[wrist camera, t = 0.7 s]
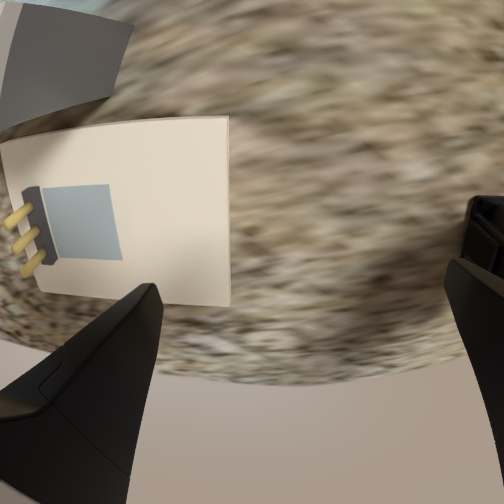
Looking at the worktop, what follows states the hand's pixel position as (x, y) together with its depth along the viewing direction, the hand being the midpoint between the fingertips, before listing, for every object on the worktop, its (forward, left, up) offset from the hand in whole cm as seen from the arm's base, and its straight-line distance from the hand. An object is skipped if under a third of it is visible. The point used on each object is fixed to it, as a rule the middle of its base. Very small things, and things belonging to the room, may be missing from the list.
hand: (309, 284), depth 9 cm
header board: (+13, +3, -13) cm, 18 cm away
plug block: (+12, -9, -13) cm, 20 cm away
